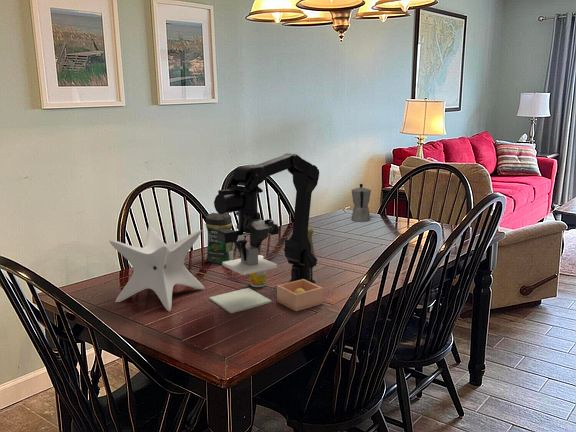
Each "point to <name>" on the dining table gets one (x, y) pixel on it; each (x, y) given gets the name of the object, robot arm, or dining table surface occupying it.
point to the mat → (240, 300)
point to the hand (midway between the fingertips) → (249, 259)
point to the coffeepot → (361, 204)
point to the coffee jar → (216, 248)
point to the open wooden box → (300, 294)
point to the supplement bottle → (258, 277)
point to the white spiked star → (158, 266)
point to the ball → (299, 290)
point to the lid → (249, 262)
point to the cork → (310, 238)
